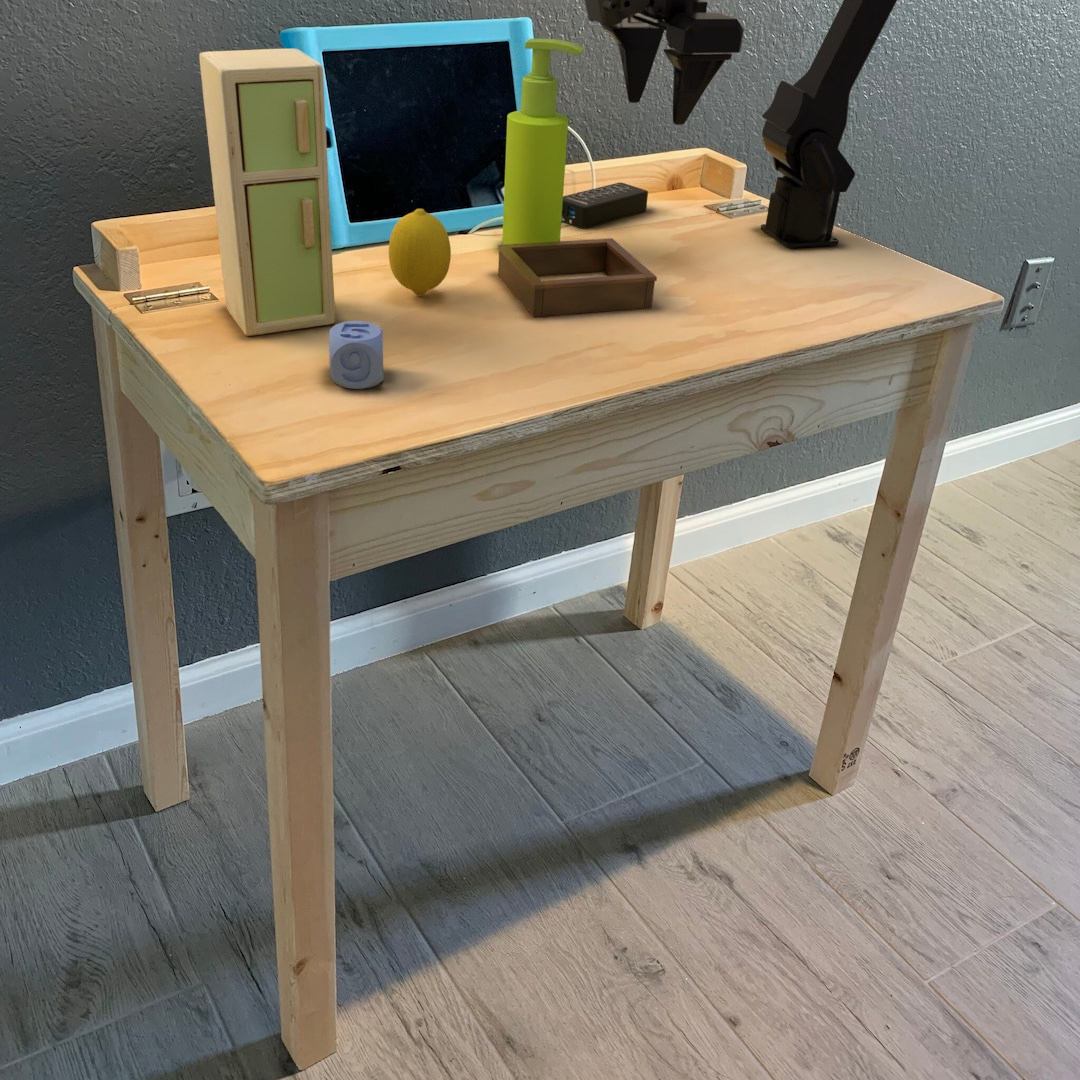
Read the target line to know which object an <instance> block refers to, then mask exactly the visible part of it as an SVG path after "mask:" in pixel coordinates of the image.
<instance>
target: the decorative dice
mask: <svg viewBox="0 0 1080 1080" xmlns="http://www.w3.org/2000/svg"><path fill="white" fill-rule="evenodd" d="M383 331H384V330H383V329H382V328H381V327H380V326H379V325H377V324H375V323H373V322H369V321H363V320H349V321H342V322H339V323H336V324H334V326H332V327H331V328H330V329H329V335H328V353H329V354H328V357H329V359H328V360H329V376H330V380H331V381H333V383H335V384H336V385H337V386H338V387H342V388H345V389H349V390H364V389H371V388H373V387H376V386H378V385H379V384H381V382H382V381H384V376H385V375H384V332H383Z"/></svg>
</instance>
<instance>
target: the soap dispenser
mask: <svg viewBox="0 0 1080 1080" xmlns="http://www.w3.org/2000/svg"><path fill="white" fill-rule="evenodd" d="M524 43H525V44H524V49H525V50H527V49H529V50H532V54H531V55H532V56H531V72H528V73H527V74H525V75H524V76H522V78H521V93H520V97H521V98H520V109H519V110H515V111H512V112H509V113H507V115H506V116H507V117H506V118H507V119H506V139H505V140H506V141H505V162H504V163H505V165H504V166H505V167H504V186H503V187H504V188H503V213H502V236H501V237H502V238H501V245H504V244H521V243H539V242H556V241H561V231H562V221H561V219H562V204H563V196H564V190H565V175H566V161H567V147H568V146H567V144H568V131H569V118H568V117H567V116H566V115H564V114H561V113H558V112H557V99H558V98H557V97H558V85H559V81H558V78H557V77H554V75H553V74H552V73H550V69H551V53H552V51H560V52H564V53H568V54H571V55H574V56H579V55H581V53H582V52H584V51H585V50H586V47H584V46H582V45H579V44H577V43H574V42H571V41H568V40H563V39H556V38H529V39H528V40H526V41H525V42H524Z"/></svg>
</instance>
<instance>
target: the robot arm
mask: <svg viewBox="0 0 1080 1080" xmlns="http://www.w3.org/2000/svg"><path fill="white" fill-rule="evenodd" d="M897 2H898V0H842V3H841V5H840V7H839V9H838V11H837V13H836V14H835V17H834V19H833V21H832V23H831V25H830V27H829V28H828V31H827V33H826V34H825V37H824V39H823V41H822V43H821V45H820V46H819V49H818V50H817V53H816V55H815V56H814V59H813V61H812V63H811V65H810V67H809V68H808V70H807V72H806V73H804V75H803V76H801V77H800V78H799V79H798V80H797V81H796V82H795V83H793V84H791V83H789V82H787V81H786V80H781V81H780V83H779V84H778V86H777V88H776V91H775V94H774V96H773V99H772V101H771V104H770V105H769V107H768V109H767V110H766V111H765V112H764V113H763V114H762V115H761V118H762V119H764V120H765V122H764V124H763V128H762V133H761V138H762V141H763V144H764V148H765V149H766V151H767V152H768V154H769V155H771V156H772V161H773V162H772V163H773V168H774V170H775V171H776V172H779V173H780V174H782V175H783V176H778V177H776V182H775V187H774V192H773V191H772V192H771V193H770V196H769V202H768V208H767V214H766V220H765V224H763V223H762V224H761V225H760V230H761V231H762V232H763V233H765V234H766V235H768V236H769V237H771V238H773V239H774V240H775V241H777V242H779V243H780V244H782V245H783V246H785V247H787V248H805V247H807V248H808V247H823V246H836V245H837V246H838V245H839V244H840V239H839V238H837V237H836V236H834V235H833V230H834V225H835V221H836V217H837V211H838V205H839V202H840V196H841V193H847V191H848V189H849V187H850V186H851V184H852V181H853V180H854V178H855V177H856V172H855V170H854V168H853V167H852V166H851V165H850V163H849V161H847V159H846V158H845V156H844V155H843V153H842V152H841V151H840V149H839V147H840V144H841V142H842V139H843V136H844V133H845V131H846V127H847V124H848V118H849V117H848V116H849V106H850V96H851V92H852V89H853V87H854V85H855V83H856V81H857V80H858V77H859V76H860V74H861V71H862V70H863V68H864V65H865V63H866V61H867V60H868V58H869V56H870V54H871V52H872V50H873V48H874V46H875V45H876V42H877V41H878V39H879V37H880V35H881V32H882V31H883V29H884V27H885V25H886V24H887V21H888V20H889V17H890V15H891V14H892V11H894V8H895V6H896V4H897ZM584 5H585V9H586V13H587V18H588V21H589V22H597V23H599V24H600V25H601V27H602V29H603V30H604V31H606V32H607V33H608V34H609V36H610V37H611V38H612V39H613V41H614V42H615V43H616V44H617V47H618V52H619V55H620V60H621V66H622V72H623V78H624V83H625V89H626V94H627V100H628V102H629V103H631V104H638V103H640V101H641V99H642V96H643V94H644V92H645V89H646V86H647V83H648V80H649V78H650V75H651V71H652V68H653V65H654V62H655V59H656V57H657V54H658V50H659V48H660V45H661V41H662V39H663V35H664V33H665V38H666V42H667V45H668V47H669V48H663V53H664V54H665V56H666V57H667V59H668V61H669V62H670V64H671V65H672V67H673V84H672V85H673V86H672V87H673V88H672V122H673V124H674V125H676V126H679V125H680V126H681V125H684V124H685V123H686V122H687V121H688V118H689V117H690V115H691V113H692V112H693V110H694V109H695V107H696V106H697V104H698V102H699V101H700V99H701V98H702V96H703V94H704V93H705V91H706V89H707V87H708V86H709V85H710V83H711V82H712V80H713V79H714V77H715V76H716V74H717V73H718V72H719V70H720V69H721V67H722V66H723V65H724V63H725V62H726V61H730V60H731V59H732V58H733V53H734V54H736V53H737V54H738V53H739V54H740V53H741V52H742V45H743V40H744V39H743V38H744V32H745V29H744V27H743V26H742V24H741V22H740V21H739V19H738V18H735V17H732V16H729V15H726V14H723V13H720V12H707V10H708V1H705V0H584Z"/></svg>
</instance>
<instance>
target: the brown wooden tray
mask: <svg viewBox="0 0 1080 1080" xmlns="http://www.w3.org/2000/svg"><path fill="white" fill-rule="evenodd" d="M497 250H498V266H497V267H498V268H497V276H498V277H499V278H500V279H501V280H502V282H503V283H504V284H505V285H506V286H507V288H508V289H509V290H510V291H511V292H512V293H513V294H514V296H515V297H516V298H517V299H518V301H520V303H521V304H522V305H523V306H524V307H525V309H526V310H527V311H528V312H529V313H530V314H531V316H533V317H535V318H536V317H549V316H551V317H552V316H562V315H575V314H588V313H589V314H590V313H600V312H614V311H625V310H626V311H627V310H638V309H639V310H641V309H650V308H651V309H652V307H653V300H654V293H655V284H656V282H657V280H658V277H657V276H656V275H655V273H653V272H652V271H651V270H650V269H648V268H647V266H645V265H644V264H642V262H640V261H639V260H638V259H637V258H636V257H635V256H634V255H632V254H631V253H630V252H629V251H627V249H625V248H624V247H623V245H621V244H619V243H618V242H617V241H616V240H615V239H614V238H613V237H612V238H611V237H609V238H595V239H594V238H593V239H577V240H575V239H574V240H560V241H556V242H539V243H521V244H504V245H502V244H498V245H497ZM597 272H605V273H606V274H607V275H608V276H607V275H606V276H591V277H578V278H577V277H576V278H563V279H549V280H548V279H546V280H541V278H539V276H550V275H553V276H554V275H566V274H580V273H581V274H582V273H597Z"/></svg>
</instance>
